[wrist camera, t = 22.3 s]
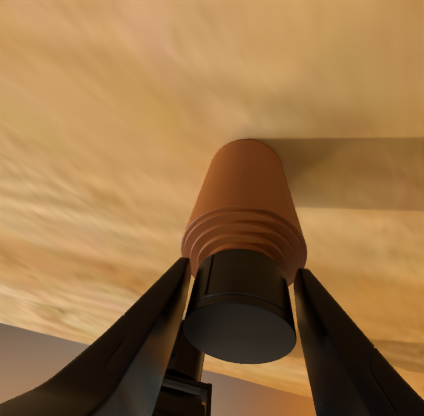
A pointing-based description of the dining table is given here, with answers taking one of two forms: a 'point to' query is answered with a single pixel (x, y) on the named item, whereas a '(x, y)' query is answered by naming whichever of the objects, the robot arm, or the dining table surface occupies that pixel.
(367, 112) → the dining table surface
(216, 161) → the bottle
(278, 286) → the cap
